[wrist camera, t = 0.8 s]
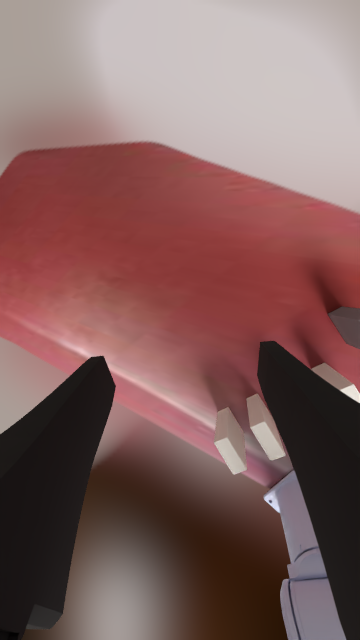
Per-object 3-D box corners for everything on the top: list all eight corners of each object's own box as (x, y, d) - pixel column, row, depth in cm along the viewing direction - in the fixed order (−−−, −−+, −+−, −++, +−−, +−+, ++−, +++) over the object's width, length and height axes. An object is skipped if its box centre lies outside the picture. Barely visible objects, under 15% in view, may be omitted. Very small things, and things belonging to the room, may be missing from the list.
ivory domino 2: (257, 393, 30) (264, 421, 24) (273, 419, 30) (285, 455, 24) (246, 398, 31) (250, 427, 24) (262, 424, 31) (270, 461, 24)
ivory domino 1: (228, 406, 32) (227, 437, 25) (243, 432, 32) (246, 469, 25) (217, 411, 32) (213, 442, 25) (233, 436, 32) (233, 474, 25)
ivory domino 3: (324, 362, 28) (353, 384, 21) (342, 391, 28) (378, 422, 21) (311, 368, 28) (335, 391, 22) (328, 397, 28) (359, 429, 22)
